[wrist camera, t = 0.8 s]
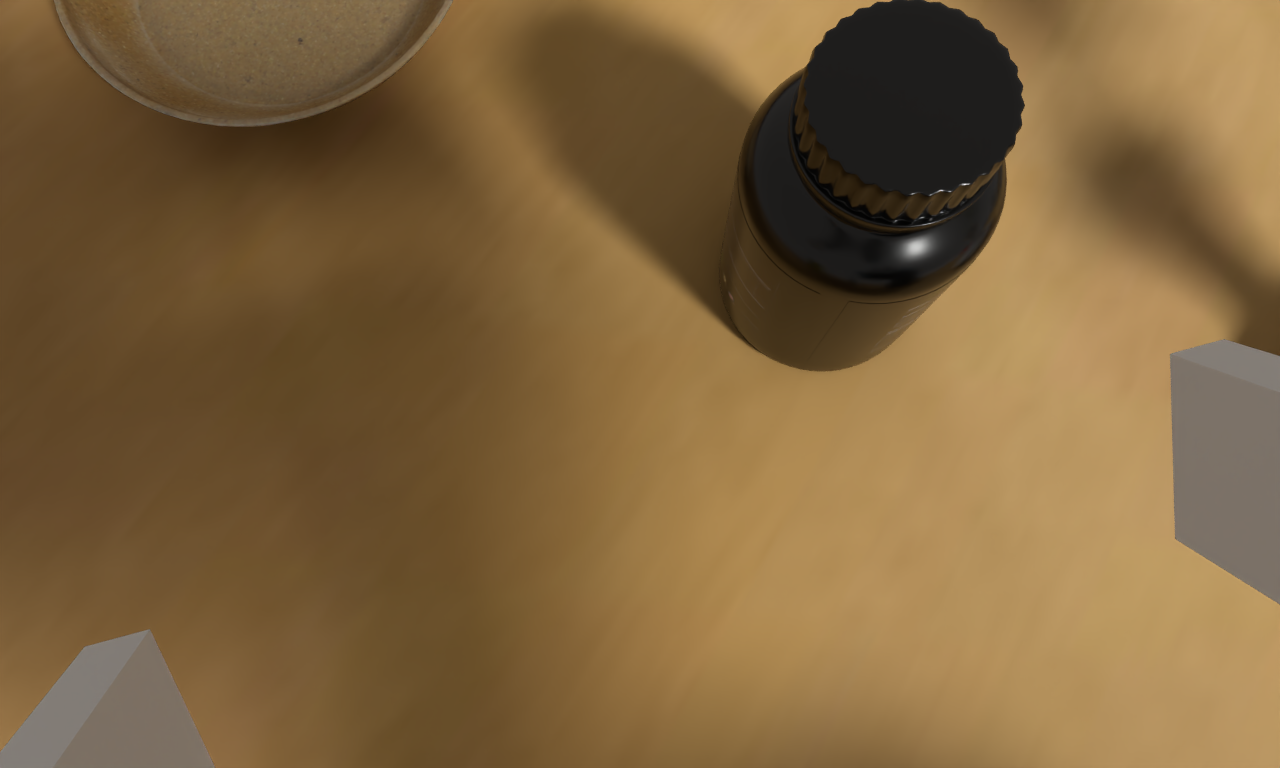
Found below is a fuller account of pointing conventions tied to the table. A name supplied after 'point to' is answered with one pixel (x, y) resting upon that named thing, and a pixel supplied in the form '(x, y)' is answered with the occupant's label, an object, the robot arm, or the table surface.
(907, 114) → the supplement bottle
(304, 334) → the table surface
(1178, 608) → the table surface
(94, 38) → the plant saucer
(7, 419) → the table surface
